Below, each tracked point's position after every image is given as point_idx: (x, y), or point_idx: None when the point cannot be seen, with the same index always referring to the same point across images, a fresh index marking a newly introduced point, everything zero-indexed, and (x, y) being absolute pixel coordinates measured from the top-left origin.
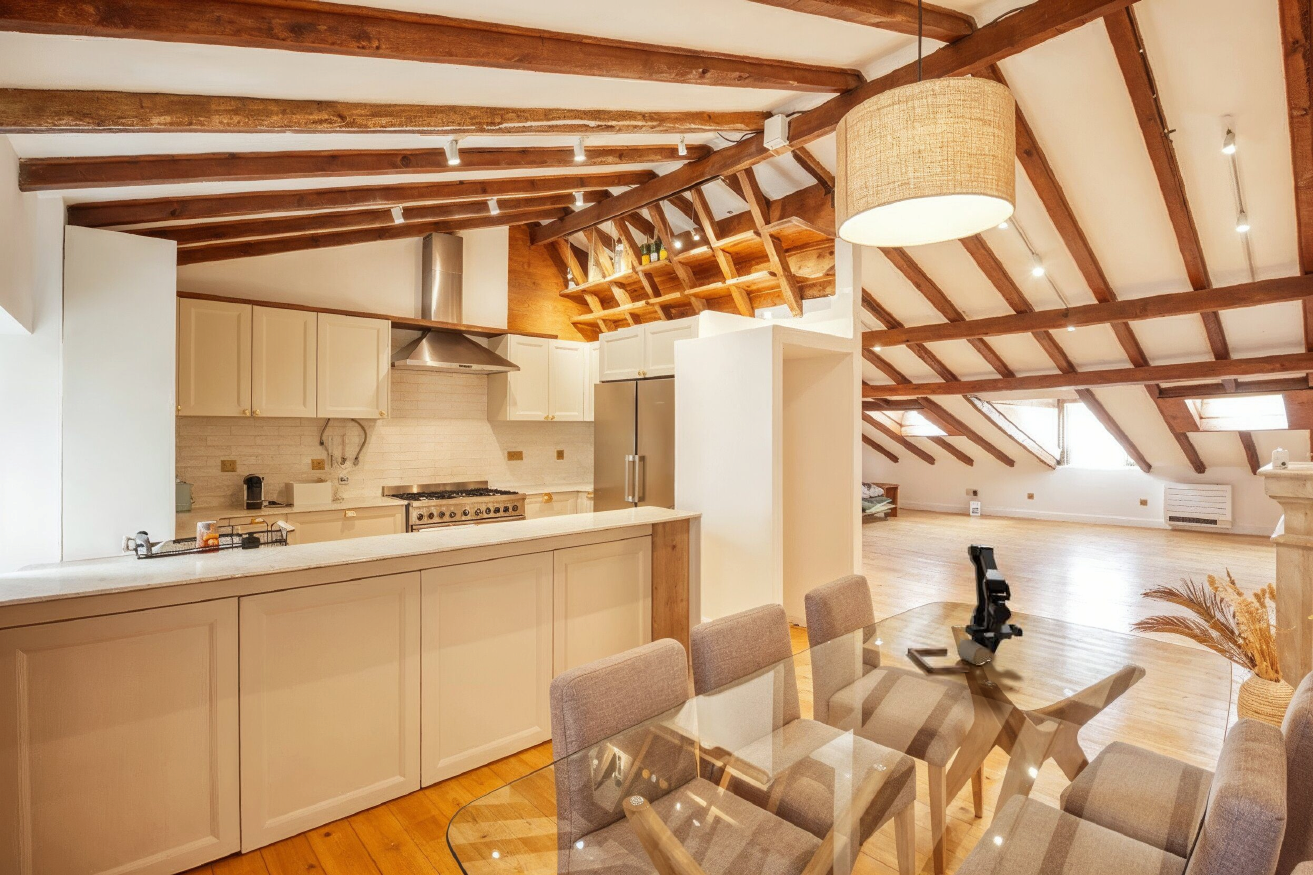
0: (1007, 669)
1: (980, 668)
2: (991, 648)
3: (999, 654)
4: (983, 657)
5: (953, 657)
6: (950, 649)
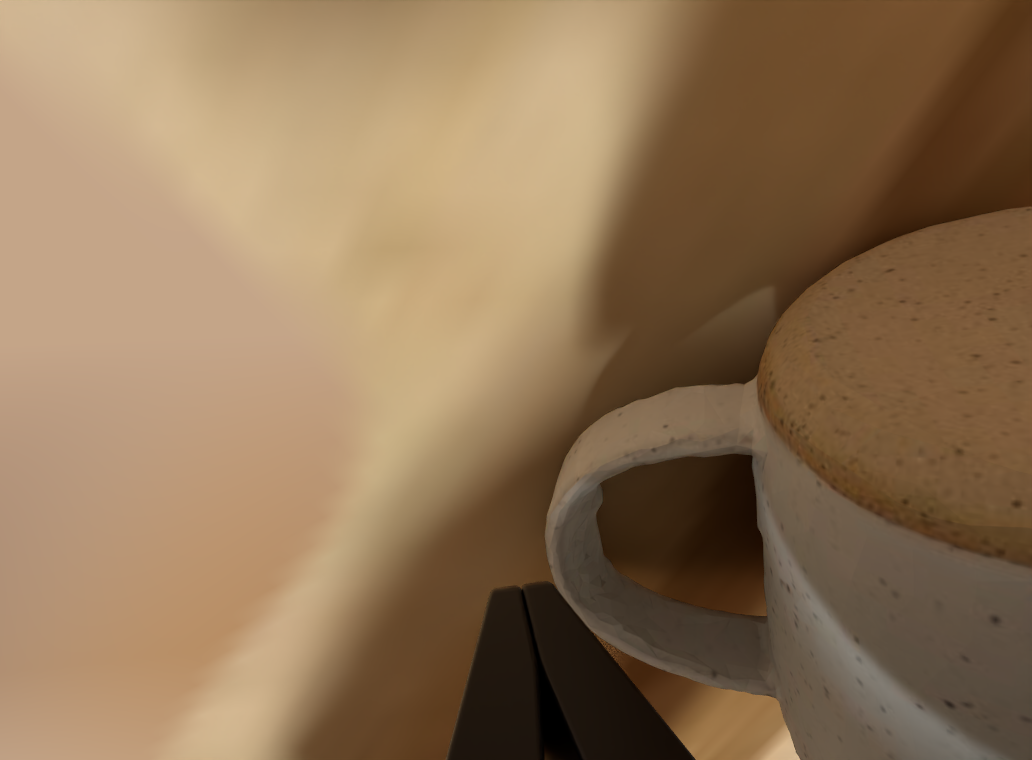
0: (357, 41)
1: (983, 121)
2: (641, 702)
3: (231, 705)
4: (1011, 319)
5: None
6: None
